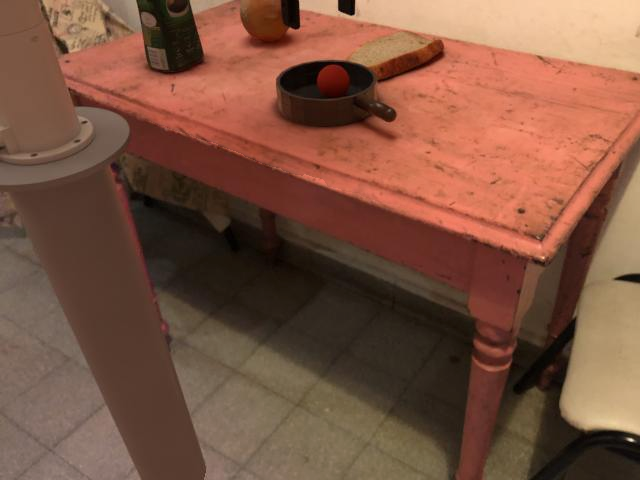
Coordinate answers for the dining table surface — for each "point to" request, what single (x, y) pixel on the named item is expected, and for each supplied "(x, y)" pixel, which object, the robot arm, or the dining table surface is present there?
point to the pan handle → (375, 108)
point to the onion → (263, 19)
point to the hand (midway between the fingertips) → (319, 20)
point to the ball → (333, 81)
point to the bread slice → (396, 53)
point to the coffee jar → (169, 34)
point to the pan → (311, 105)
